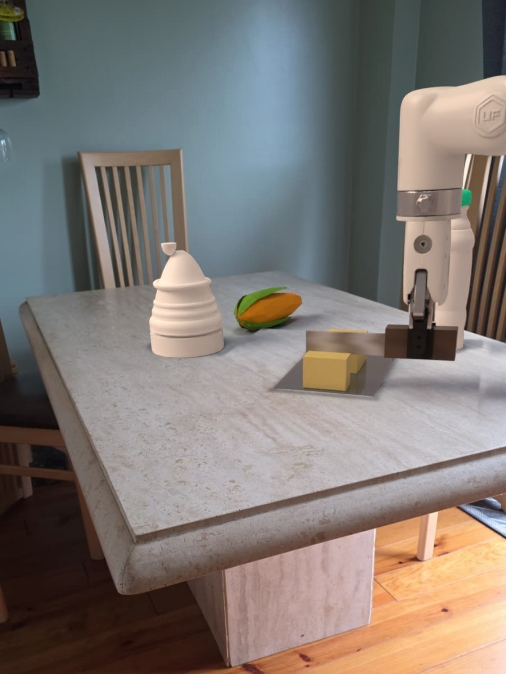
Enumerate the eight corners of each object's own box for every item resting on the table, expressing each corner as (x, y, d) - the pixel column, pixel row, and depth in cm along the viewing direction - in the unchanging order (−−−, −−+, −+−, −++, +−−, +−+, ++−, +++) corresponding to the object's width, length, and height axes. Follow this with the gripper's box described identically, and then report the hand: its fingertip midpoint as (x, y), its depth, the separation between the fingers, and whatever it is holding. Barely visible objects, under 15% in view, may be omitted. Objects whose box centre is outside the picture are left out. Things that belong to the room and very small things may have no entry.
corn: (223, 292, 117) (285, 276, 131) (223, 331, 121) (284, 312, 135) (253, 298, 113) (314, 282, 127) (252, 339, 117) (312, 318, 131)
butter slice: (350, 384, 87) (351, 353, 85) (345, 391, 84) (346, 359, 82) (308, 381, 89) (308, 350, 87) (302, 387, 86) (302, 356, 84)
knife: (455, 356, 82) (458, 326, 80) (454, 361, 80) (457, 330, 78) (308, 349, 88) (308, 321, 87) (304, 354, 86) (303, 325, 85)
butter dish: (394, 361, 100) (395, 355, 99) (373, 403, 83) (374, 396, 82) (309, 355, 104) (310, 350, 104) (273, 394, 87) (273, 387, 87)
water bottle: (439, 343, 109) (454, 188, 99) (471, 351, 103) (490, 188, 93) (409, 349, 106) (421, 190, 95) (441, 358, 100) (457, 190, 90)
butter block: (366, 358, 98) (368, 330, 96) (357, 373, 91) (358, 343, 89) (329, 356, 100) (330, 328, 98) (317, 370, 93) (317, 341, 91)
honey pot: (161, 361, 104) (150, 249, 96) (144, 343, 115) (133, 241, 107) (234, 351, 108) (229, 243, 100) (211, 335, 119) (205, 236, 111)
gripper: (457, 209, 67) (445, 374, 74) (464, 201, 80) (453, 341, 88) (387, 211, 69) (382, 371, 76) (405, 203, 83) (399, 339, 90)
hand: (420, 354), depth 82 cm, fingers closed on knife, 2 cm apart
